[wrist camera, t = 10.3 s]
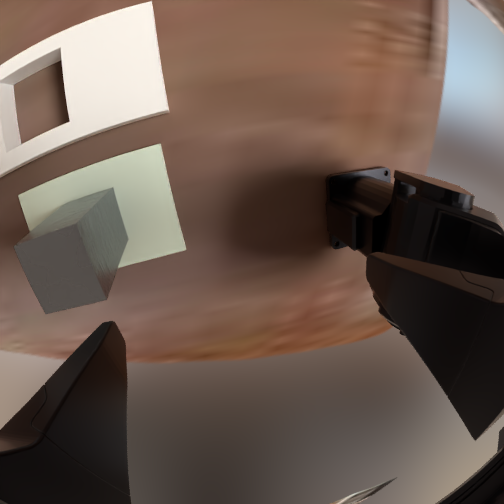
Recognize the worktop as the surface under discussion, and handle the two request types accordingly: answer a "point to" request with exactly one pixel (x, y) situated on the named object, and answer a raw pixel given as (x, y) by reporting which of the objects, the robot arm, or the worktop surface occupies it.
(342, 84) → the worktop surface
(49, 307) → the grey rectangular block
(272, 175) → the worktop surface
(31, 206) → the green pad
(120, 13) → the cream window plate
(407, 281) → the robot arm
